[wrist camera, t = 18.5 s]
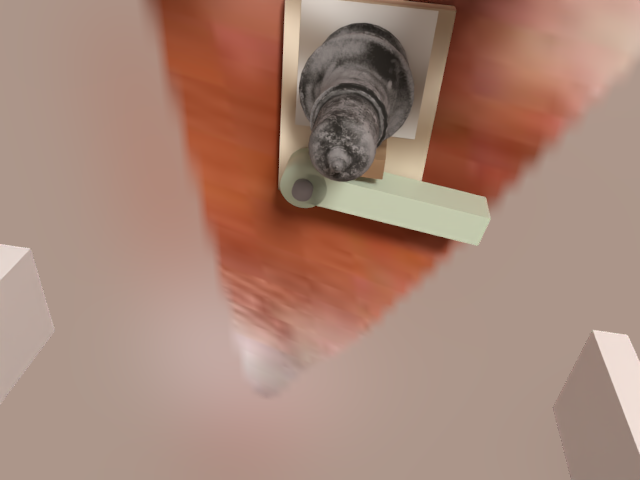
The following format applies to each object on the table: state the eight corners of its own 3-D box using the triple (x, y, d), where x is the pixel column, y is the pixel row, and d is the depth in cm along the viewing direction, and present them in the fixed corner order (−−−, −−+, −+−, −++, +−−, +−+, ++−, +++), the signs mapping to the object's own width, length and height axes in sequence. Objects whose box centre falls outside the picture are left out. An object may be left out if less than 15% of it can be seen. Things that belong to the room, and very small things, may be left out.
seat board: (289, -13, 30) (273, 3, 27) (455, 6, 29) (460, 24, 26) (281, 180, 37) (268, 213, 33) (415, 198, 36) (416, 233, 33)
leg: (284, 181, 35) (274, 206, 33) (291, 142, 34) (282, 165, 31) (471, 228, 35) (476, 256, 33) (488, 191, 34) (494, 218, 31)
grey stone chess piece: (307, 116, 33) (261, 224, 23) (311, 12, 29) (260, 86, 20) (406, 126, 32) (403, 241, 22) (422, 21, 29) (426, 103, 19)
